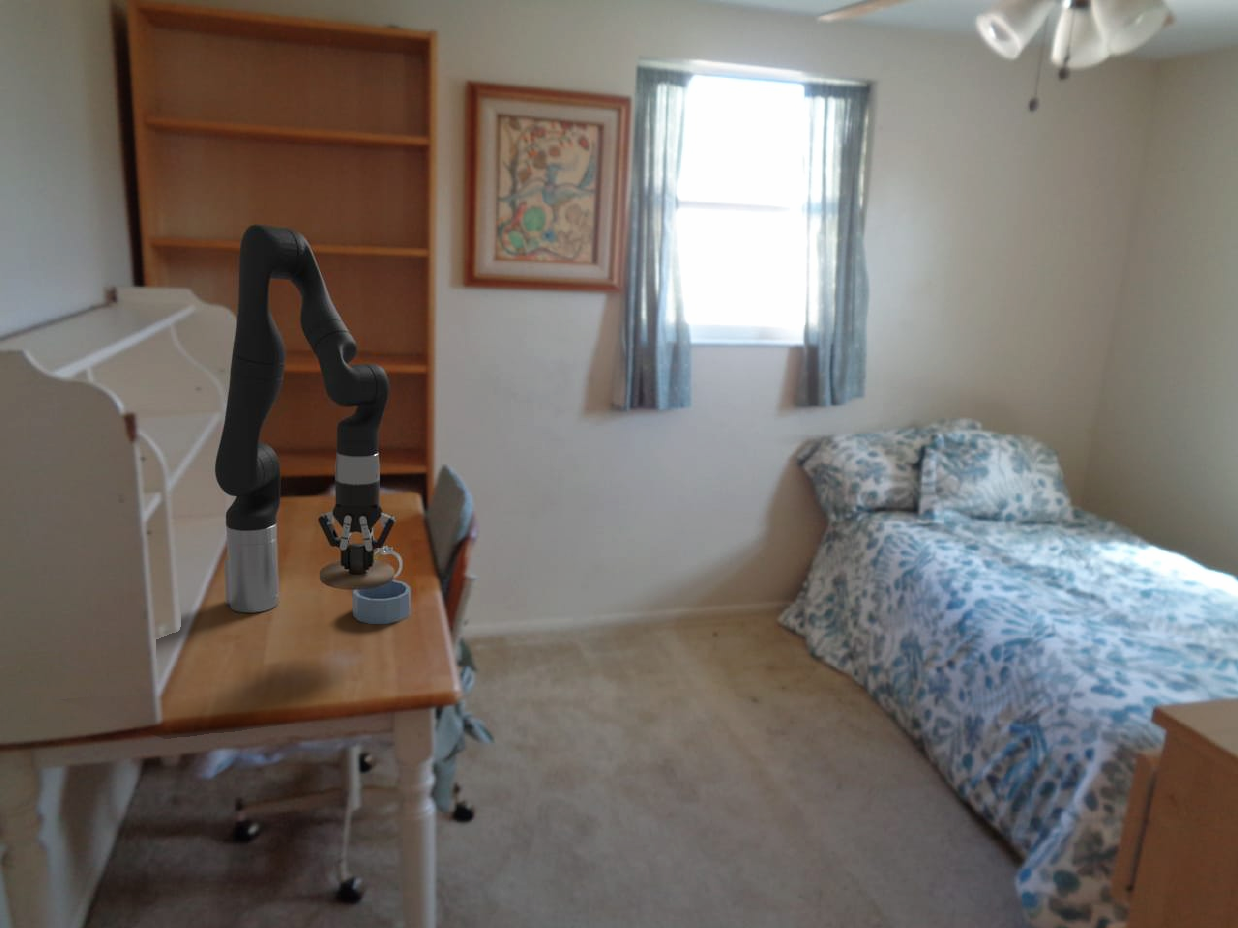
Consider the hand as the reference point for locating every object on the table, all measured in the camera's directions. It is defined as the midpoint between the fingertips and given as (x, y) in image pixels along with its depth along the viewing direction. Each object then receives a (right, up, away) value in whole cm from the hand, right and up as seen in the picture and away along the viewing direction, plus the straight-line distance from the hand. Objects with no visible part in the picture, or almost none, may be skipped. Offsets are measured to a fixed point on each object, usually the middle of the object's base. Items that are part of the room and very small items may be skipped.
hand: (357, 567), depth 156 cm
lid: (0, -2, 0) cm, 2 cm away
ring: (-4, -7, +35) cm, 36 cm away
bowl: (-1, -11, +19) cm, 22 cm away
